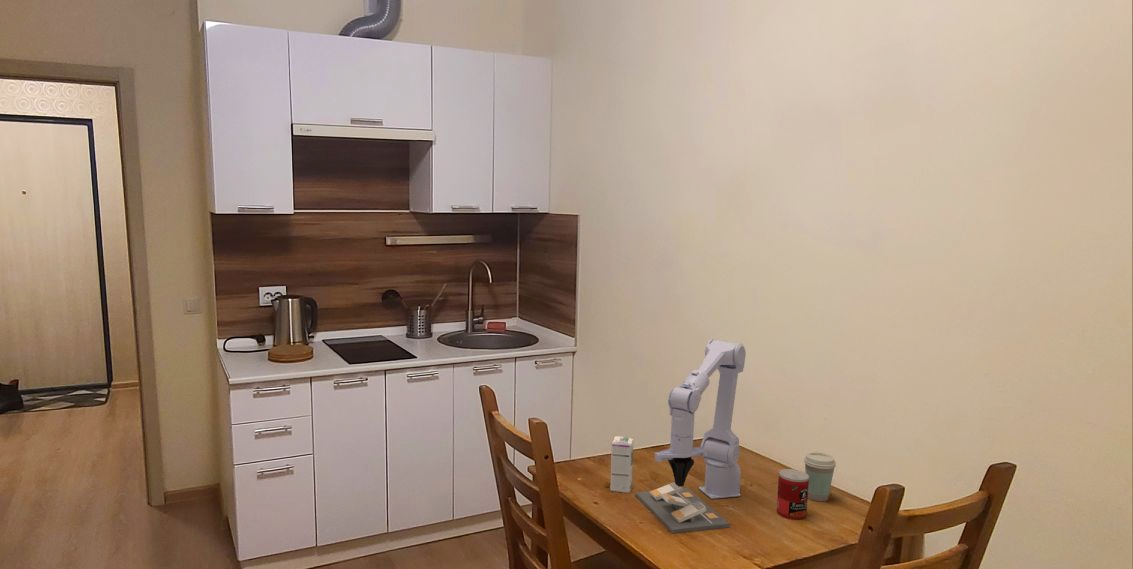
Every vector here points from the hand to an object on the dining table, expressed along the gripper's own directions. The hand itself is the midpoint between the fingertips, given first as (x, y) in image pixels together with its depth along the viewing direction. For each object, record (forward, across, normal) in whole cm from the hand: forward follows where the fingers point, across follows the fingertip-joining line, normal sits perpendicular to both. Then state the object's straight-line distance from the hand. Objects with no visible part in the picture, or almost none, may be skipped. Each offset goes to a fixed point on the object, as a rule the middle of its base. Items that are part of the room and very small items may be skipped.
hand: (679, 485), depth 187 cm
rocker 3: (+7, -2, +2) cm, 7 cm away
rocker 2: (+7, -3, -5) cm, 9 cm away
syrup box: (+10, +4, -24) cm, 26 cm away
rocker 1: (+7, -4, -12) cm, 14 cm away
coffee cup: (+10, -46, 0) cm, 48 cm away
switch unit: (+9, -4, -5) cm, 11 cm away
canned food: (+10, -32, +6) cm, 34 cm away
